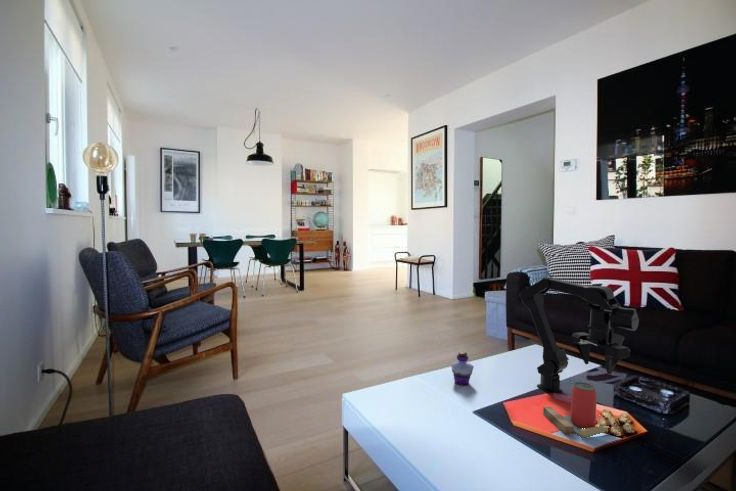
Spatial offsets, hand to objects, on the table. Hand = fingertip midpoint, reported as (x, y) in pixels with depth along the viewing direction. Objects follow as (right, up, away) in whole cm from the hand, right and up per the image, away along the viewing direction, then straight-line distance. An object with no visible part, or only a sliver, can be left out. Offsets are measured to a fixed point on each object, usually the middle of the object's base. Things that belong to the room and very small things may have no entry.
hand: (597, 369), depth 126 cm
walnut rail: (-19, -13, -11) cm, 26 cm away
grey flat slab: (-12, -14, -13) cm, 22 cm away
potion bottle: (-42, -12, +18) cm, 47 cm away
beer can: (-12, -13, -12) cm, 22 cm away
